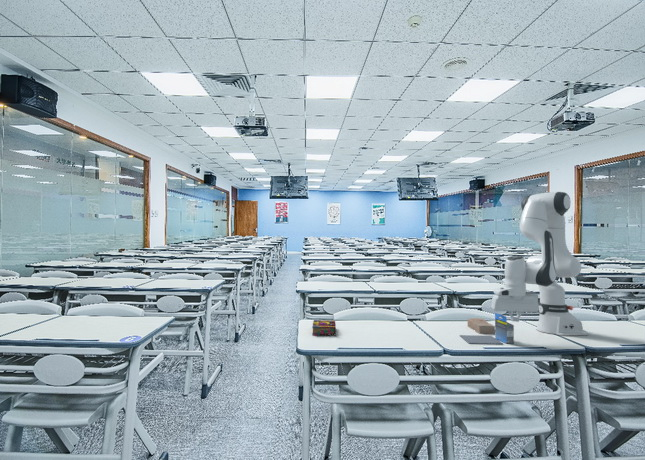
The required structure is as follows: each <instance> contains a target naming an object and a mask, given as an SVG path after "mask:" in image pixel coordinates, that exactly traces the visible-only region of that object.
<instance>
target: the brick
mask: <svg viewBox="0 0 645 460" xmlns="http://www.w3.org/2000/svg"><path fill="white" fill-rule="evenodd" d="M467 327H468V328H470V329H471V330H473V331H474V330H475V331H474V332H476V333H478V335H479V334H481V335H495V325H493V324H492V323H489V322H488V321H486V320H485V319H484V318H482V317H481V318H479V317H477V318H476V317H475V318H472V317H471V318H467Z"/></svg>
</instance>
